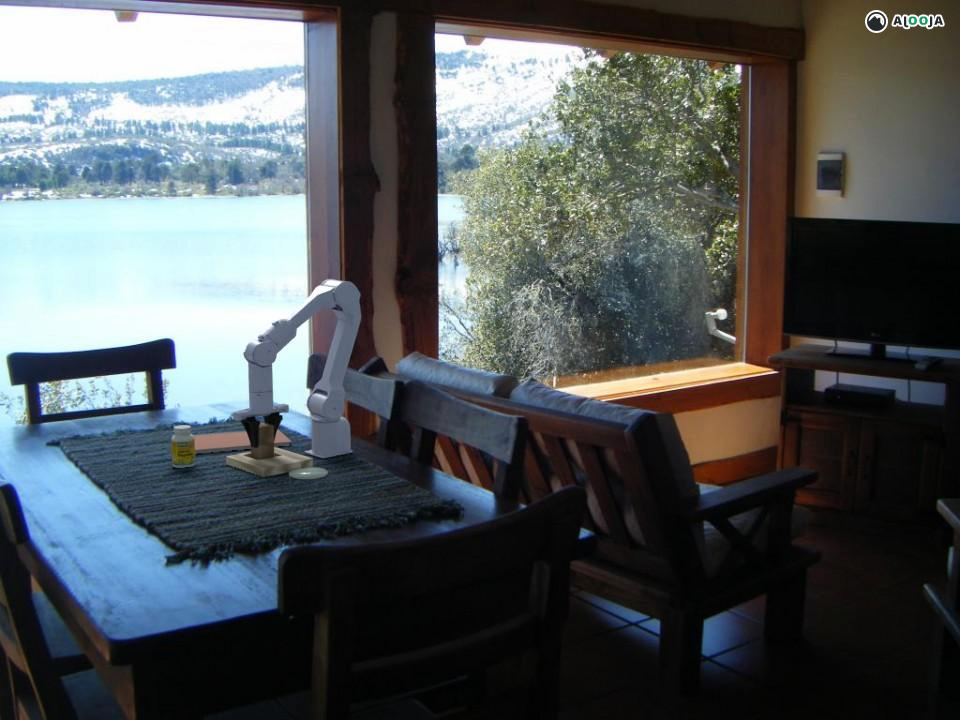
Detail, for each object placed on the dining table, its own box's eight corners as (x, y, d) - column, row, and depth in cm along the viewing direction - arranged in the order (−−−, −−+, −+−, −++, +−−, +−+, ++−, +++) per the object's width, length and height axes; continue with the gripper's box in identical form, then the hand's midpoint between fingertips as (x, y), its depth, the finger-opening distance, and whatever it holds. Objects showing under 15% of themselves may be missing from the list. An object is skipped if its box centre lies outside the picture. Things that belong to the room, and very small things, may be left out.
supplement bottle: (191, 461, 256) (190, 423, 255) (198, 466, 252) (197, 427, 250) (169, 464, 253) (167, 425, 252) (176, 469, 249) (174, 430, 247)
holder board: (275, 454, 264) (274, 447, 263) (313, 466, 253) (312, 458, 252) (226, 464, 254) (226, 456, 254) (263, 477, 243) (263, 468, 242)
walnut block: (265, 454, 258) (264, 422, 257) (274, 457, 255) (273, 425, 254) (251, 457, 255) (250, 425, 254) (260, 460, 252) (259, 427, 251)
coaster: (312, 467, 252) (312, 465, 252) (335, 474, 246) (335, 472, 246) (281, 474, 246) (281, 472, 246) (304, 481, 239) (304, 479, 239)
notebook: (276, 434, 289) (276, 427, 288) (291, 447, 273) (291, 440, 273) (175, 442, 278) (174, 435, 277) (184, 457, 262) (184, 449, 262)
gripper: (276, 384, 260) (277, 437, 263) (225, 392, 250) (227, 447, 252) (293, 388, 256) (294, 442, 258) (241, 396, 245) (243, 452, 247)
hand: (262, 445), depth 255 cm, fingers closed on walnut block, 4 cm apart
